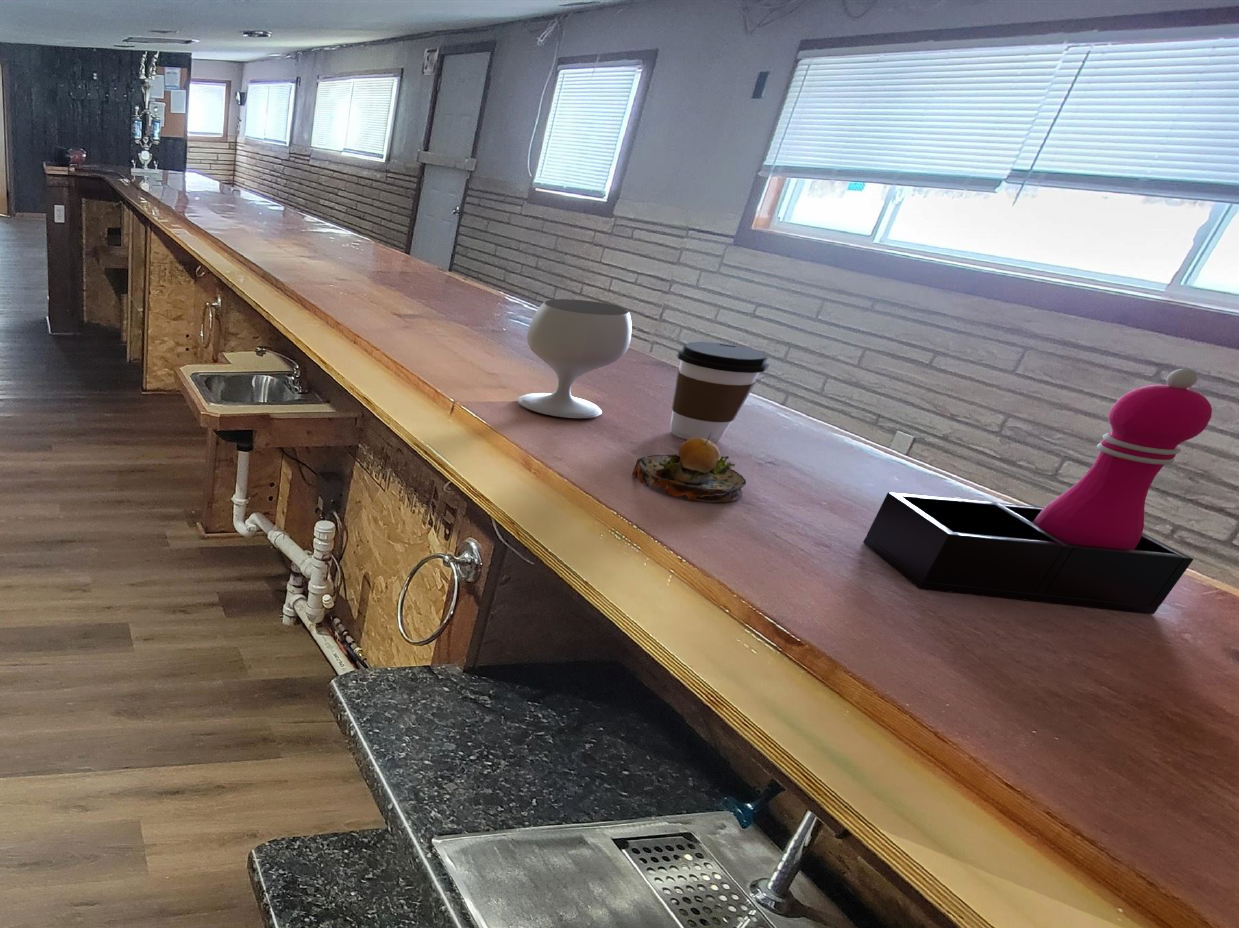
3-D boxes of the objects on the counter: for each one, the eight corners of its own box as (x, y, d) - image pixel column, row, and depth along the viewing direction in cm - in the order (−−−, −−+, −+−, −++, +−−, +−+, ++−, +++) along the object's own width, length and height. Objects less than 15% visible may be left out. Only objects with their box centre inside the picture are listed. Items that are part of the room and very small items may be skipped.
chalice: (613, 428, 120) (645, 321, 112) (511, 415, 123) (536, 310, 116) (602, 401, 131) (631, 303, 124) (510, 390, 135) (532, 294, 127)
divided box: (1071, 564, 86) (1104, 512, 83) (1154, 614, 77) (1194, 558, 74) (862, 542, 88) (887, 492, 85) (919, 588, 79) (949, 534, 76)
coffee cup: (658, 418, 125) (685, 337, 119) (741, 434, 119) (774, 350, 113) (646, 436, 117) (675, 350, 111) (735, 454, 111) (769, 365, 105)
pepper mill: (1067, 558, 84) (1193, 361, 74) (1130, 593, 78) (1277, 382, 68) (992, 553, 85) (1107, 356, 75) (1048, 587, 78) (1182, 377, 69)
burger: (749, 484, 102) (773, 425, 98) (731, 513, 94) (756, 450, 90) (645, 459, 108) (663, 403, 105) (620, 484, 100) (639, 424, 96)
